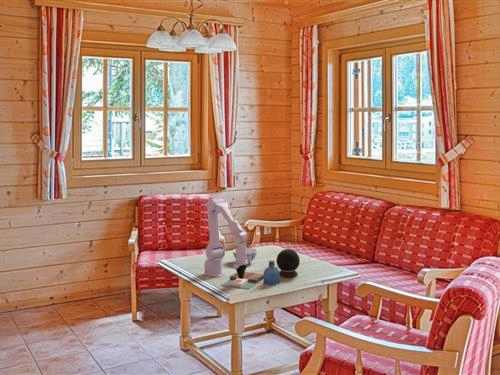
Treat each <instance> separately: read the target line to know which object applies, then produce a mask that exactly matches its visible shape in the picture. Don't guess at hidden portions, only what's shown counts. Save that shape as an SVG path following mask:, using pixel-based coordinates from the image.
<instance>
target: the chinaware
mask: <svg viewBox="0 0 500 375" xmlns="http://www.w3.org/2000/svg"><path fill="white" fill-rule="evenodd" d="M232 254H233V257H234V259H236V248H234V249H233V250H232ZM257 254H258V250H257V249H256V248H253V247H246V259H248V264H247V265H249V264H251V262H252V261H254V259H255V258H256V257H257Z"/></svg>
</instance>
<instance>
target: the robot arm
mask: <svg viewBox="0 0 500 375" xmlns="http://www.w3.org/2000/svg"><path fill="white" fill-rule="evenodd" d="M228 206H229V203H228V201H227V199H226V198H225V197H221V198H214V199H213V198H211V199H209V200H208V201H207V202H206V210H207V221H208V222H207V223H208V231H209V232H208V235H209V243H208V244H207V245H206V247H205V248H206V251H205V257H206V259H205V261H204V267H203V268H204V274H203V275H204V276H208V277H217V278H220V277H221V276H223V275H224V274H225V272H223V267H222V266H223V264H222V262H223V258H224V257H225V255H226V251H225V249H224V244H222V243H221V242H220V231H219V229H220V228H219V218H218V215H219V213H220V214H221V215H222V217H223V218H224V219H225V220H226V221H227V223H228V224H227V227H228V228H229V230H230V232H231V234H232V235H233V237H232V238H233V243H234V246H235V249H236V258H235V261H234V264H233V269H235V271H236V273H237V274H238V277H239V279H243V277H244V273H245V272H246V269H247V267H248V265H249V264H248V259H246V248H247V242H248V241H249V239H250V238H249V233H248V232H247V231H246V230H244V229H243V228H242V227H241V225H240V223H239V222H238V220H235V219H234V217H233V216H232V213H231V211H230V209H229V208H228Z"/></svg>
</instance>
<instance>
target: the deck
mask: <svg viewBox="0 0 500 375" xmlns="http://www.w3.org/2000/svg"><path fill="white" fill-rule="evenodd" d="M237 278H239V277H238V274H237V272H235V273H233V274H232V275H230V277H229V280H236V279H237ZM243 279H248V282H251V283H256V285H257V284H258V283H260V282H261V281H263V279H264V273H258V272H251V271H245V273H244V277H243Z"/></svg>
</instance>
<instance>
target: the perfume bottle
mask: <svg viewBox="0 0 500 375" xmlns="http://www.w3.org/2000/svg"><path fill="white" fill-rule="evenodd" d="M267 265H268V266H267V267H266V268H265V269H264V271H263V274H264V279H263V280H262V281H263V282H262V283H263V284H265V285H269V286H275V285H278V284H281V281H280V278H281V277H280V269H279V268H278V267H276V264H275V261H274V260H269V261H268V264H267Z"/></svg>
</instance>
